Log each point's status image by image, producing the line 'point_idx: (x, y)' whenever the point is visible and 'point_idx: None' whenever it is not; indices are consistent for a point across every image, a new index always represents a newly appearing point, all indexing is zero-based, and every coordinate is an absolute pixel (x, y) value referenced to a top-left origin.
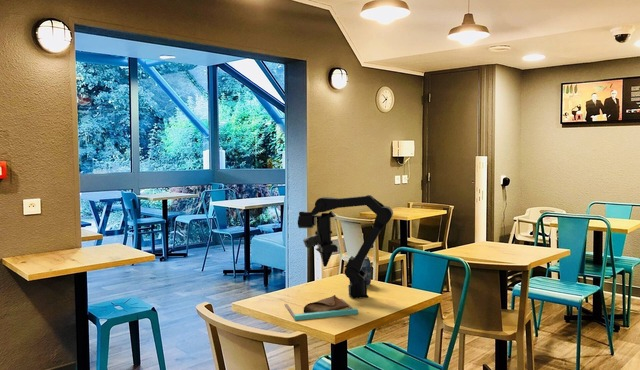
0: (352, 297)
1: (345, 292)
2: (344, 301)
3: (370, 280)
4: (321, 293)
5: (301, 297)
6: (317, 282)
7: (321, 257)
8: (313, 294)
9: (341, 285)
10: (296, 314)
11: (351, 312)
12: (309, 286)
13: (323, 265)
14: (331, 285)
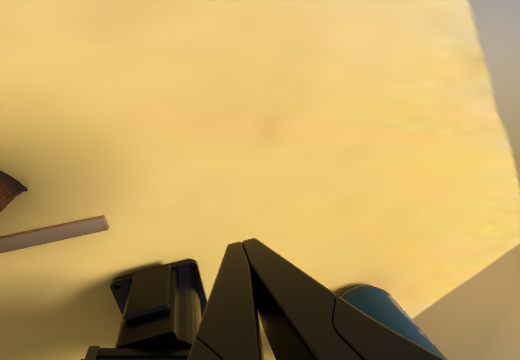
0: (122, 278)
1: None
2: (38, 241)
3: None
4: (264, 125)
5: None
6: (480, 124)
7: (308, 320)
8: (253, 73)
9: (380, 228)
10: None
11: None
12: (430, 71)
13: (244, 245)
14: (399, 186)
